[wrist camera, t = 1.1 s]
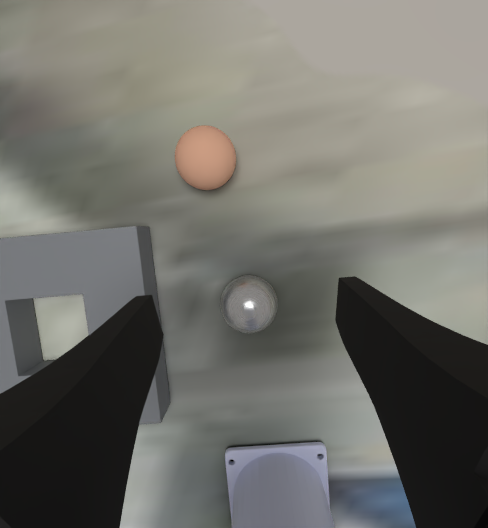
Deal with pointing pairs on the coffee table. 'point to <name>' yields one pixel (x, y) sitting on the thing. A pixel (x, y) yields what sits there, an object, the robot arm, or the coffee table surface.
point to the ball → (205, 157)
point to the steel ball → (249, 304)
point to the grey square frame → (72, 283)
